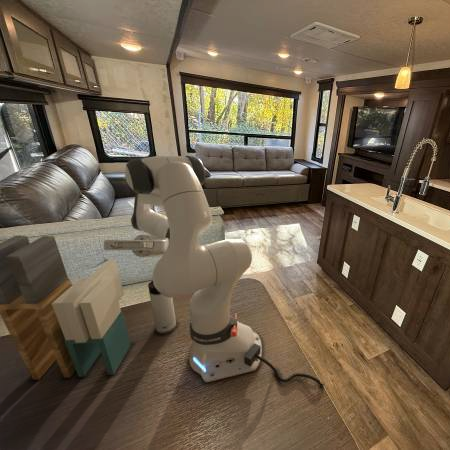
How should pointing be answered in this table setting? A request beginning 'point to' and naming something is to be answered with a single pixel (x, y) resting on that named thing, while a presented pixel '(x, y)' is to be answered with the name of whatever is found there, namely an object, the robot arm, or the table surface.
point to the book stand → (34, 302)
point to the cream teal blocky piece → (96, 328)
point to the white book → (73, 300)
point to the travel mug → (162, 310)
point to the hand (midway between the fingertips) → (126, 244)
